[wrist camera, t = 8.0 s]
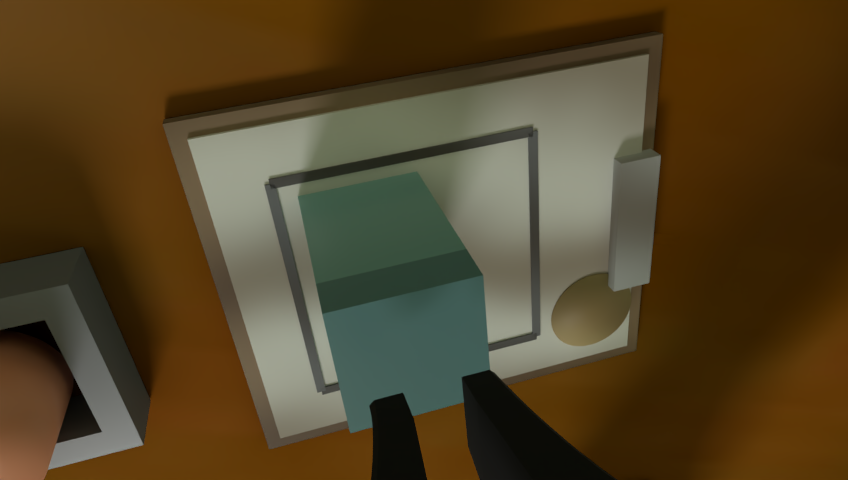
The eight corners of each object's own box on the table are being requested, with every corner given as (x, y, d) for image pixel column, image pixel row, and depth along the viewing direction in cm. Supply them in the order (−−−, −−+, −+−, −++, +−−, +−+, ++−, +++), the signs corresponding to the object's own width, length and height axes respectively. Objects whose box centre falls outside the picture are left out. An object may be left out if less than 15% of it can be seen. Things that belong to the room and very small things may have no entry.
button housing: (150, 400, 21) (143, 444, 20) (-46, 449, 20) (-71, 500, 19) (83, 247, 18) (67, 284, 17) (-152, 295, 17) (-194, 340, 16)
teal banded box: (429, 271, 21) (491, 394, 16) (321, 296, 20) (350, 433, 15) (416, 171, 19) (483, 275, 14) (297, 196, 19) (321, 313, 14)
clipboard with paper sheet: (630, 344, 26) (644, 359, 25) (268, 441, 23) (270, 462, 23) (655, 31, 20) (674, 38, 19) (163, 119, 17) (160, 131, 16)
